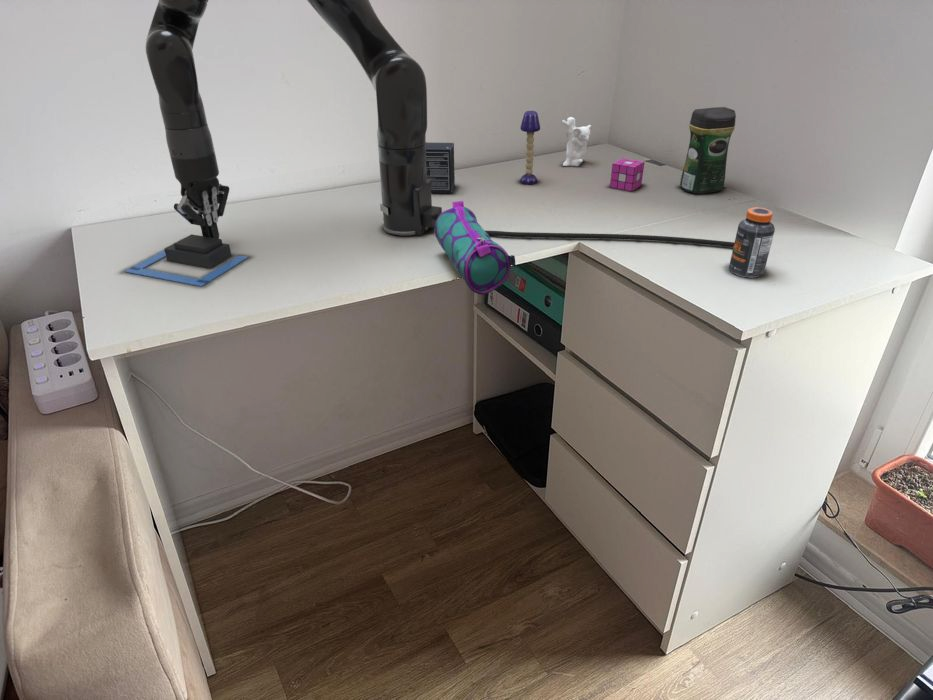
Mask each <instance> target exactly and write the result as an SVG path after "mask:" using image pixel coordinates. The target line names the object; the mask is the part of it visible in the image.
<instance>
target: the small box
mask: <svg viewBox="0 0 933 700" xmlns="http://www.w3.org/2000/svg"><path fill="white" fill-rule="evenodd" d="M426 168H427V180H430V181H431V194H453V192H454V189H455V185H456V182H455V181H456V180H455V142H430V141H429V142H428V141H426Z"/></svg>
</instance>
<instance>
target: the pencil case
mask: <svg viewBox="0 0 933 700" xmlns="http://www.w3.org/2000/svg"><path fill="white" fill-rule="evenodd" d="M451 204H452V207H451V208H449V209H446V210H444V211H442V213H441V214H440V216H439V217H438V218H437V220H436V223H435V226H434V230H433V231H434V236H435V238H436V240H437V242H438V244H439V245H440V247H441V248H442V250H443V251H444V253H445V254H446V256H447V257H448V259H449V261H450V262H451V263H452V265H453V267H454V268H455V270H456V271H457V273H458V274H459V275H460V277H461V278H462V279H463V280H464V282H465V284H466V286H467V287H468V289H470V291H472V292H473V293H475V294H477V295H483V296H484V295H487V294H490V293H492V292H494V291H495V290H497V289H498V288H499V287H501V286H502V285H503V284H504V283H505V282H506V280H507V279H508V277H509V276H510V272H511V267H513V268H516V265H517V264H516V257H515V255H513V254H510V255H509V254H508V252H507V251H506V250H505V248H504V247H502V246H501V245H500V244H499V243H497V242H496V241H493V239H491V237H490V236H489V235H488V234H487V233H486V232H485V231H486V230H485V229H484V228H483V227H482V226H481V225H480V223H479V222H478V219H477V216H476V214H475V213H474V212H473V211H472V210H471V209H470V208H468V207H466V206H465V205H464V204H465V203H464V200H456V201H452V203H451Z"/></svg>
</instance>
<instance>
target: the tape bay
mask: <svg viewBox="0 0 933 700" xmlns="http://www.w3.org/2000/svg"><path fill="white" fill-rule="evenodd" d="M164 258H166V254H165V250H164V249H163V250H162V251H160V252H159V253H157V254H154V255H153V256H151V257H149V258H147V259H145V260H143V261H141V262H140V263H137V264H136V265H134V266H132V267H129V268H128V269H126V270H124V273H128V274H131V275H132V274H133V275H138V276H144V277H148V278H155V279H159V280H165V281H168V282H169V281H170V282H175V283H179V284H180V283H181V284H184V285H185V284H186V285H191V286H195V287H196V286H197V287H204V286H205V285H207V284H208V283H210V282H211V281H213V280H215V279H217V278H218V277H219V276H221V275H223V274H224V273H226V272H228V271H229V270H231V269H233V268H234V267H236V266H237V265H239V264H240V263H243V262H244V261H245V260H247V259H248V258H249V256H245V255H238V256H236V257H234V258H232V259H231V260H229V261H228V262H225V263H224V264H222V265H221V266H219V267H217V268H216V269H214V270H212V271H211V272H210V273H208V274H206V275H204V276H202V277H201V278H195V277H190V276H185V275H179V274H174V273H168V272H164V271H158V270H153V269H147V267H149V266H151V265H153V264H154V263H156V262H158V261H160V260H162V259H164Z"/></svg>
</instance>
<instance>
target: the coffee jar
mask: <svg viewBox="0 0 933 700" xmlns="http://www.w3.org/2000/svg"><path fill="white" fill-rule="evenodd" d="M736 118H737V115H736V111H735V109H732V108H730V107H726V106H717V107H716V106H715V107H706V108H704V107H703V108H696V109H694V110H693V111H692V113H691V118H690V122H689V132H690V137H689V144H688V148H687V154H686V158H685V162H684V165H683V170H682V173H681V177H680V182H679V186H680V187H681V189H682V190H684V191H685V192H687V193H693V194H710V193H715V192H720V191H722V190H723V189H724V188H725V181H726V180H725V179H726V171H727V170H726V169H727V159H728V152H729V144H730V141H731V137H732V135H733V132H734V131H735V127H736Z"/></svg>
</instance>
